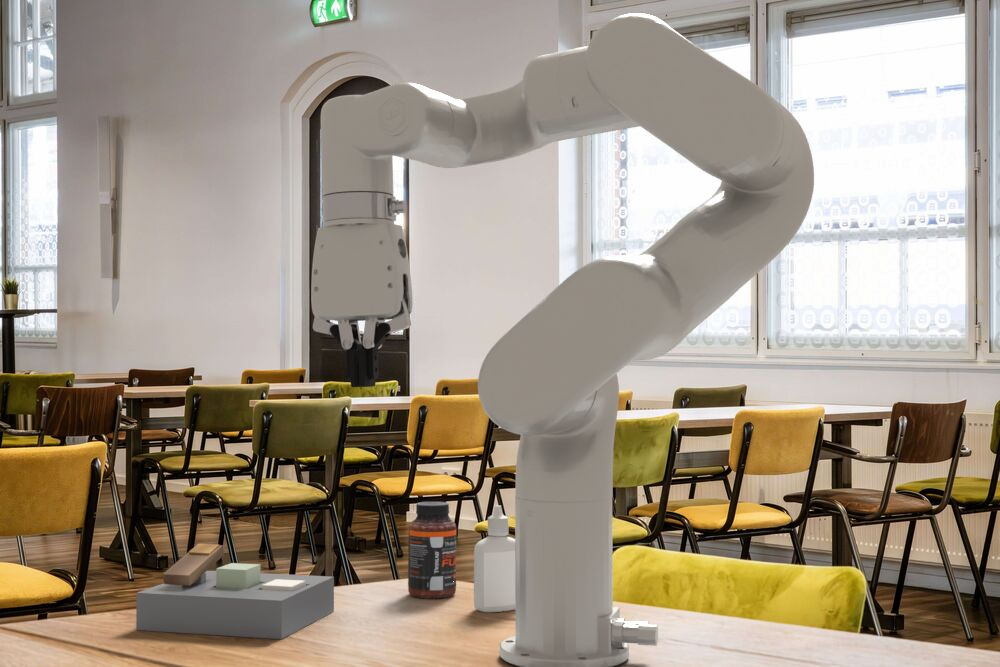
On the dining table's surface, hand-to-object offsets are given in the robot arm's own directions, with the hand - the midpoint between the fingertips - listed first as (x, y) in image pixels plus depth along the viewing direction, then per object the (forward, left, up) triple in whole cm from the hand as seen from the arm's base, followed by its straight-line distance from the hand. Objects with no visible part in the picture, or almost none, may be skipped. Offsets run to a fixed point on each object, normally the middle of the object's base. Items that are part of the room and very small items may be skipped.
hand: (363, 386), depth 129 cm
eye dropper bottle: (-10, -16, -26) cm, 33 cm away
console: (+16, -3, -26) cm, 31 cm away
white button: (+11, -3, -25) cm, 27 cm away
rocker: (+22, -3, -20) cm, 30 cm away
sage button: (+16, -3, -23) cm, 29 cm away
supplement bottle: (0, -22, -27) cm, 34 cm away
